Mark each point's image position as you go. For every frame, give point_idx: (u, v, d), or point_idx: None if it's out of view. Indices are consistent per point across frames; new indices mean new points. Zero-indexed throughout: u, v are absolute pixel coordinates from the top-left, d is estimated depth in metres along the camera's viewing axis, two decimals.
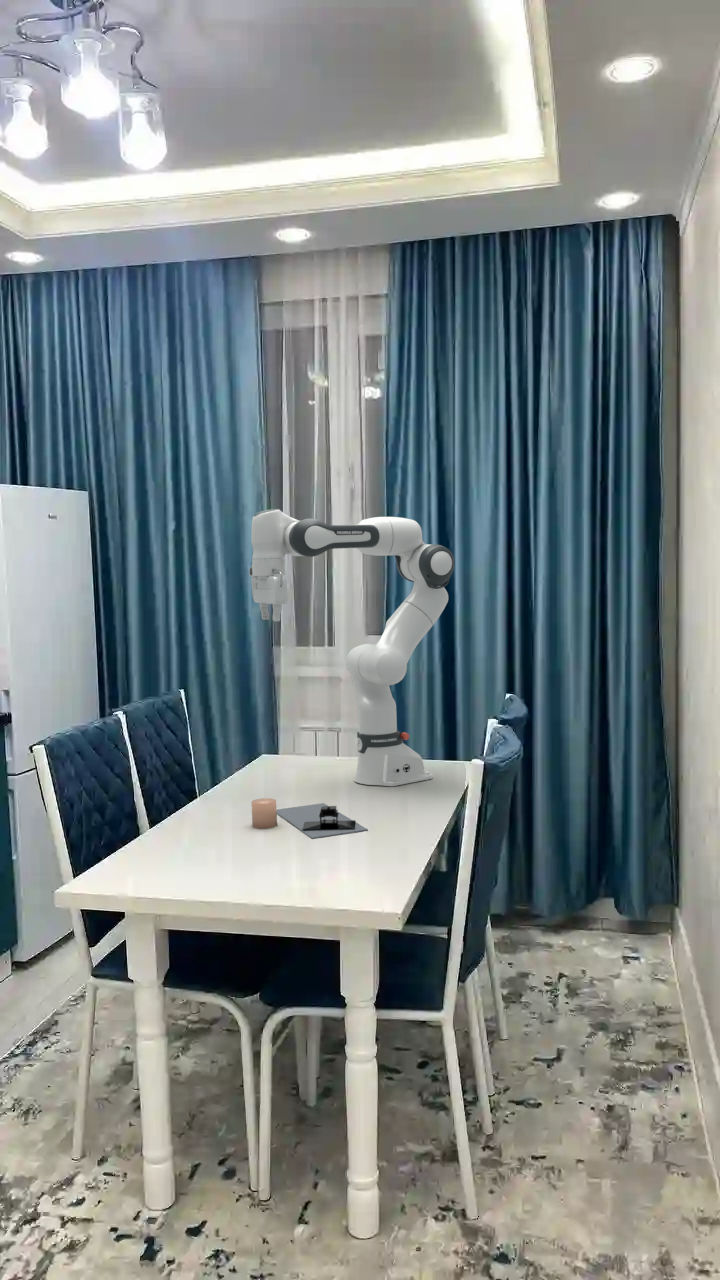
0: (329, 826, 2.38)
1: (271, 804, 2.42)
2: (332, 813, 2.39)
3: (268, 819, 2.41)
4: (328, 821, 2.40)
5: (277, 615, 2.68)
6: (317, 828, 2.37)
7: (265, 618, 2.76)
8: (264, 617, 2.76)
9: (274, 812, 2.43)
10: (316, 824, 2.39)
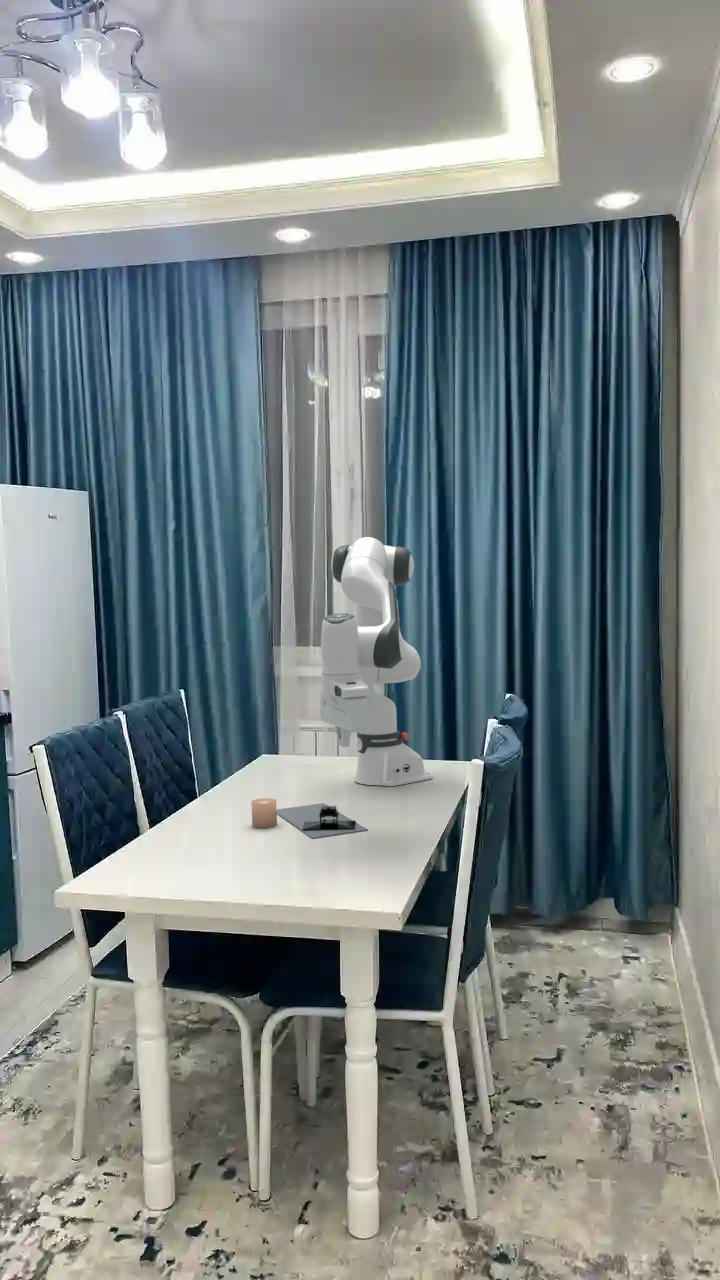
0: (329, 826, 2.38)
1: (271, 804, 2.42)
2: (332, 813, 2.39)
3: (268, 819, 2.41)
4: (328, 821, 2.40)
5: None
6: (317, 828, 2.37)
7: None
8: None
9: (274, 812, 2.43)
10: (316, 824, 2.39)
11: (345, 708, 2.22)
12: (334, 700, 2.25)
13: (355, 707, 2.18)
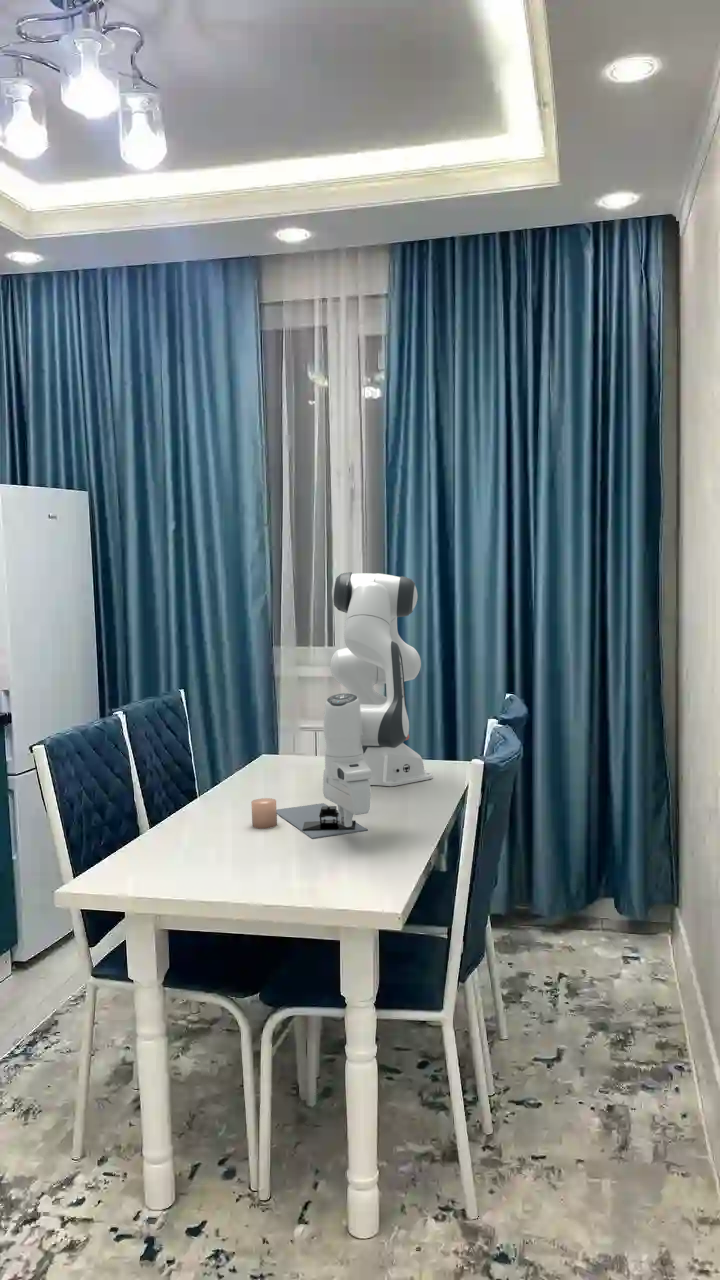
0: (329, 826, 2.38)
1: (271, 804, 2.42)
2: (332, 813, 2.39)
3: (268, 819, 2.41)
4: (328, 821, 2.40)
5: None
6: (317, 828, 2.37)
7: None
8: None
9: (274, 812, 2.43)
10: (316, 824, 2.39)
11: (348, 790, 2.23)
12: (337, 781, 2.26)
13: (358, 790, 2.20)
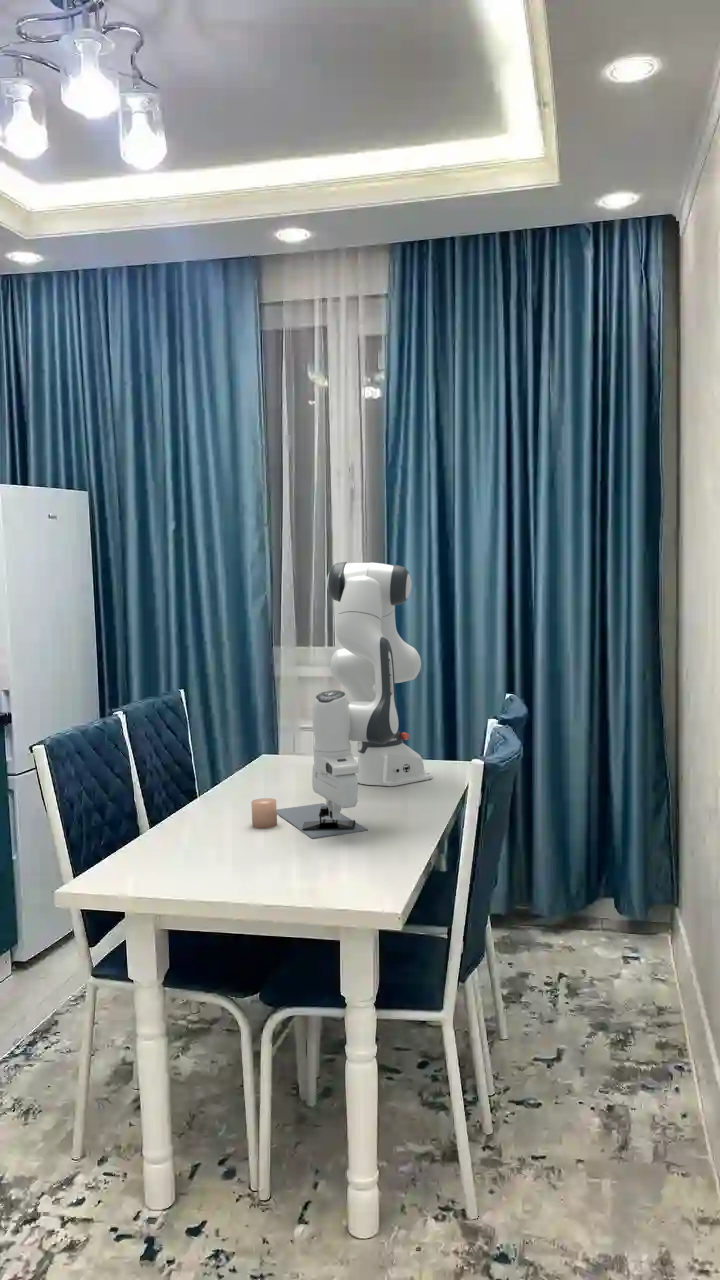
0: (329, 825, 2.38)
1: (271, 804, 2.42)
2: None
3: (268, 819, 2.41)
4: (328, 821, 2.40)
5: None
6: (317, 827, 2.37)
7: None
8: None
9: (274, 812, 2.43)
10: (316, 824, 2.39)
11: (336, 784, 2.30)
12: (326, 776, 2.33)
13: (346, 784, 2.27)
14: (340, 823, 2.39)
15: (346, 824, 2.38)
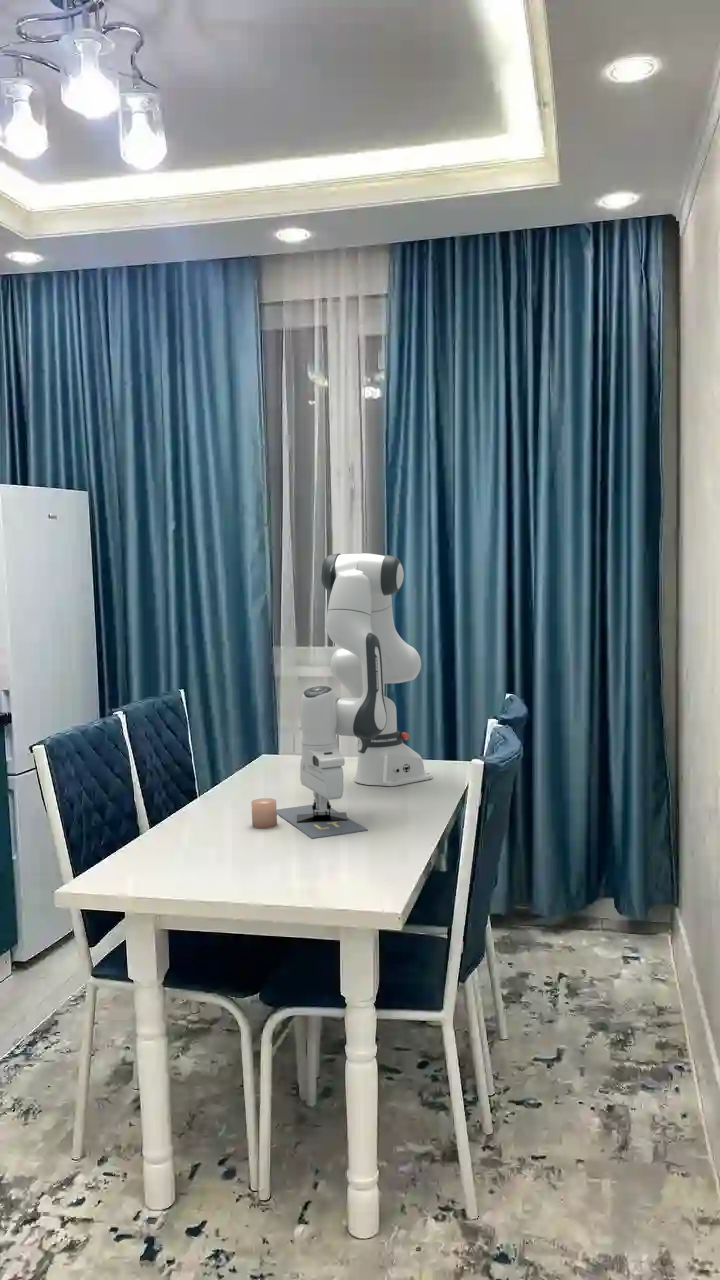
0: (322, 818, 2.45)
1: (271, 804, 2.42)
2: None
3: (268, 819, 2.41)
4: (321, 813, 2.48)
5: None
6: (311, 820, 2.44)
7: None
8: None
9: (274, 812, 2.43)
10: (309, 816, 2.47)
11: (322, 776, 2.38)
12: (313, 769, 2.41)
13: (332, 776, 2.35)
14: (333, 815, 2.47)
15: (339, 816, 2.46)
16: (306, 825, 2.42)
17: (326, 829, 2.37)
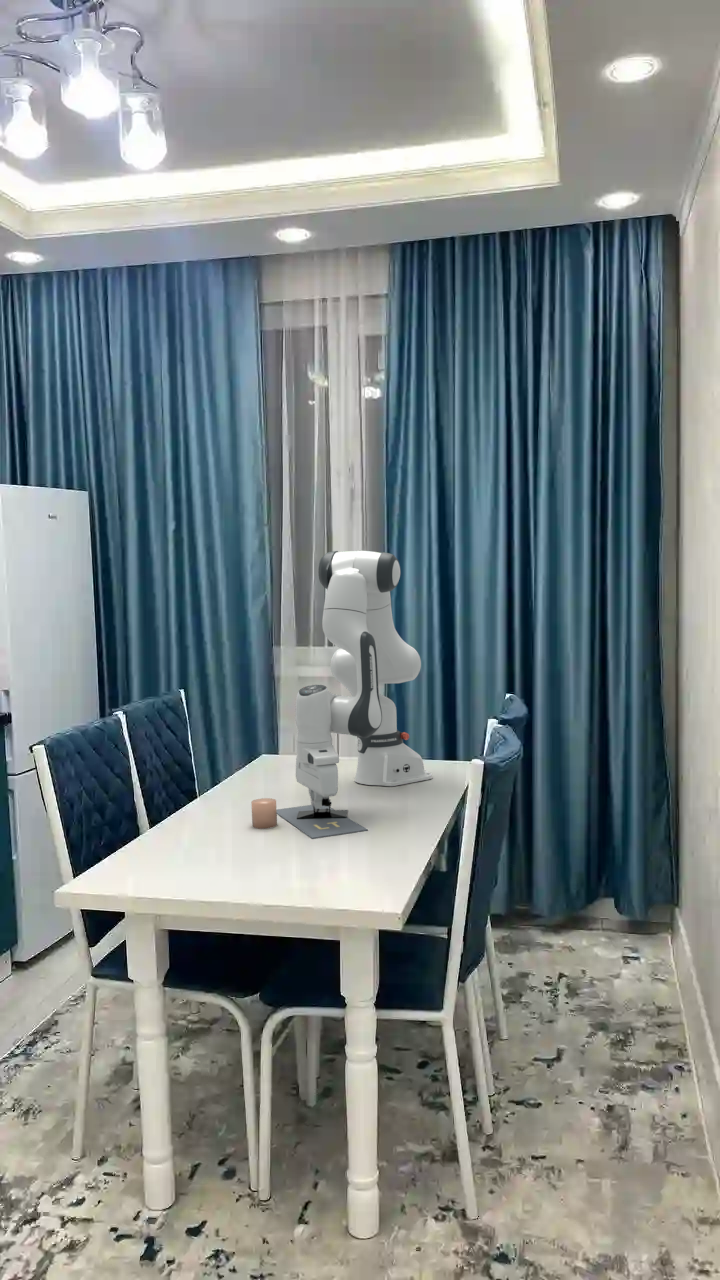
0: (322, 815, 2.48)
1: (271, 804, 2.42)
2: (325, 802, 2.50)
3: (268, 819, 2.41)
4: (321, 810, 2.51)
5: None
6: (311, 817, 2.48)
7: None
8: None
9: (274, 812, 2.43)
10: (310, 813, 2.50)
11: (317, 774, 2.41)
12: (308, 766, 2.44)
13: (326, 774, 2.38)
14: (333, 812, 2.49)
15: (339, 813, 2.49)
16: (306, 825, 2.42)
17: (326, 829, 2.37)
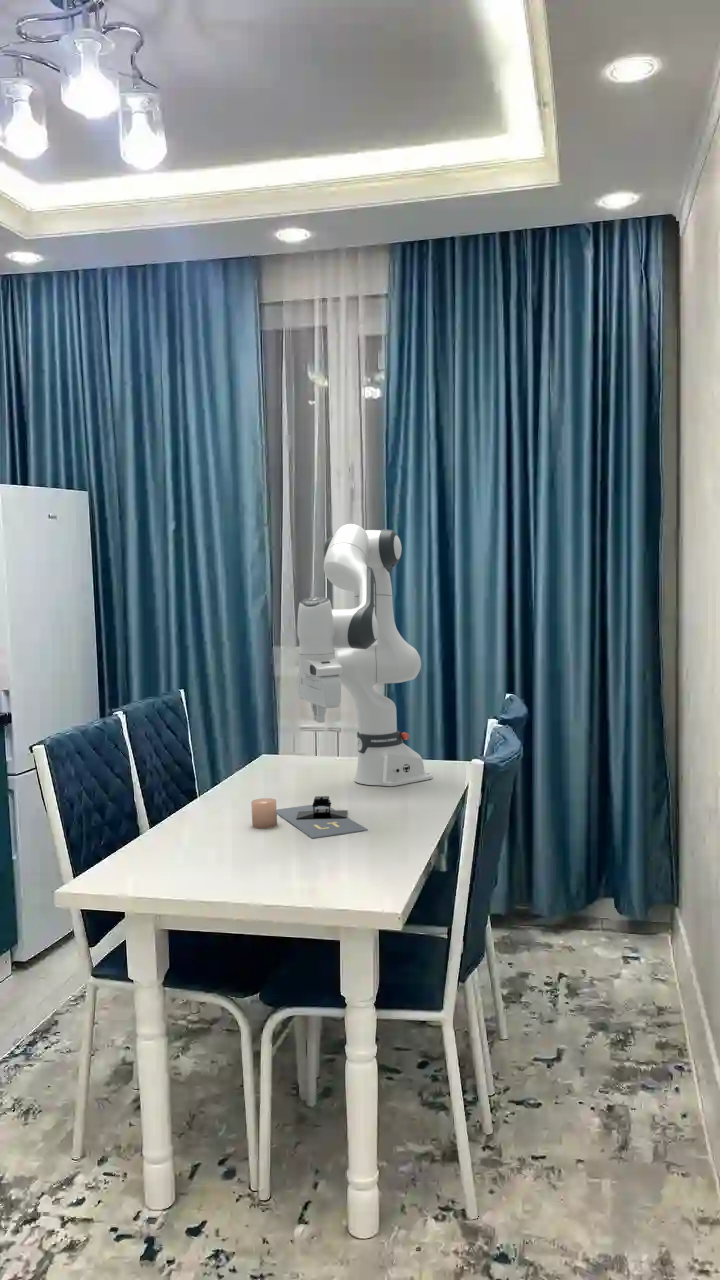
0: (322, 815, 2.48)
1: (271, 804, 2.42)
2: (325, 803, 2.50)
3: (268, 819, 2.41)
4: (321, 811, 2.50)
5: None
6: (310, 817, 2.47)
7: None
8: None
9: (274, 812, 2.43)
10: (309, 813, 2.49)
11: (320, 686, 2.36)
12: (310, 679, 2.39)
13: (329, 684, 2.33)
14: (333, 813, 2.49)
15: (338, 814, 2.49)
16: (306, 825, 2.42)
17: (326, 829, 2.37)
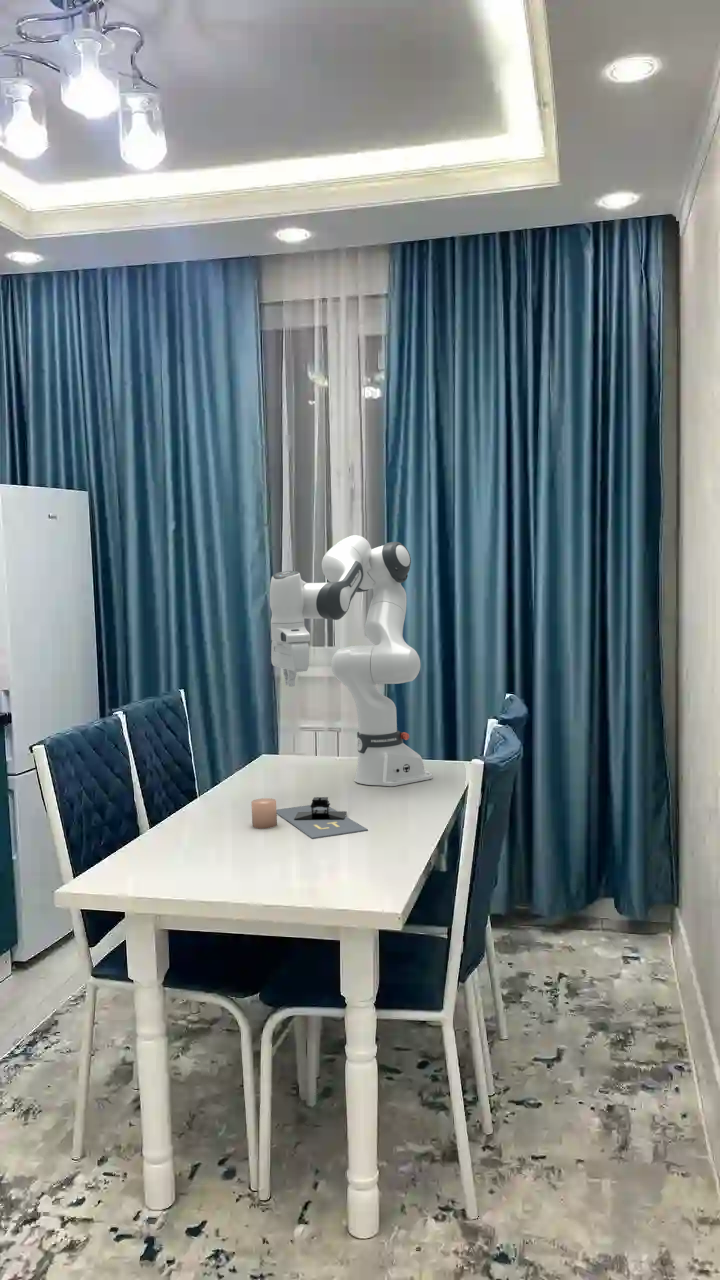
0: (320, 816, 2.47)
1: (271, 804, 2.42)
2: (323, 804, 2.49)
3: (268, 819, 2.41)
4: (319, 811, 2.49)
5: None
6: (308, 818, 2.47)
7: None
8: None
9: (274, 812, 2.43)
10: (308, 814, 2.49)
11: (290, 652, 2.57)
12: (281, 646, 2.60)
13: (298, 650, 2.54)
14: (331, 814, 2.48)
15: (337, 815, 2.48)
16: (306, 825, 2.42)
17: (326, 829, 2.37)
